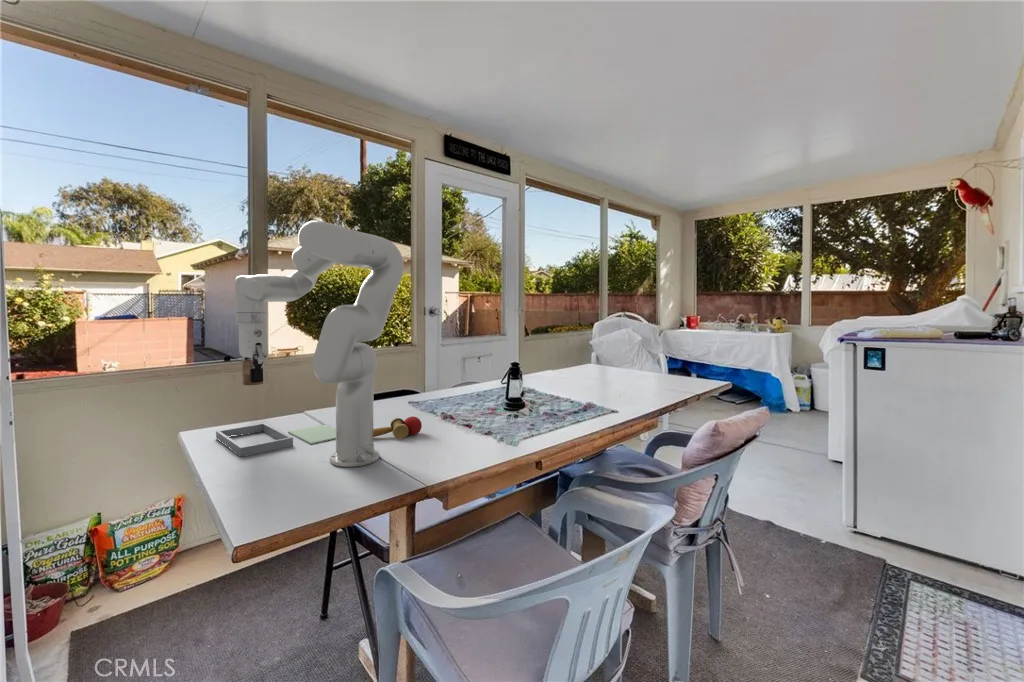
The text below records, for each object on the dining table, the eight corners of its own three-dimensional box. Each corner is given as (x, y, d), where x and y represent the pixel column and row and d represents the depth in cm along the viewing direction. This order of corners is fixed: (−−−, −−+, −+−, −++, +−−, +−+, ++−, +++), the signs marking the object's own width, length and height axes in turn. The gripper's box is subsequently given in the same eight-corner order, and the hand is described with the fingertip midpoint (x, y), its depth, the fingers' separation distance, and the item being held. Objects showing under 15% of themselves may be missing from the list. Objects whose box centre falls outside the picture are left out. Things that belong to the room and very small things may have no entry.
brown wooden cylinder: (266, 383, 131) (265, 360, 130) (246, 386, 127) (245, 361, 127) (259, 381, 134) (258, 358, 134) (240, 383, 131) (239, 359, 130)
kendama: (367, 448, 135) (425, 434, 142) (363, 427, 135) (422, 414, 142) (364, 445, 142) (420, 431, 149) (361, 425, 142) (417, 412, 149)
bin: (293, 446, 130) (292, 437, 130) (240, 457, 120) (240, 448, 120) (264, 430, 145) (264, 422, 144) (216, 439, 134) (216, 431, 134)
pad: (348, 436, 141) (348, 434, 141) (310, 444, 132) (310, 442, 132) (325, 425, 152) (325, 424, 151) (288, 433, 143) (288, 431, 143)
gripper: (276, 319, 126) (278, 383, 128) (254, 317, 138) (256, 376, 139) (247, 320, 121) (249, 386, 122) (226, 317, 132) (229, 378, 134)
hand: (253, 380), depth 131 cm, fingers closed on brown wooden cylinder, 5 cm apart
